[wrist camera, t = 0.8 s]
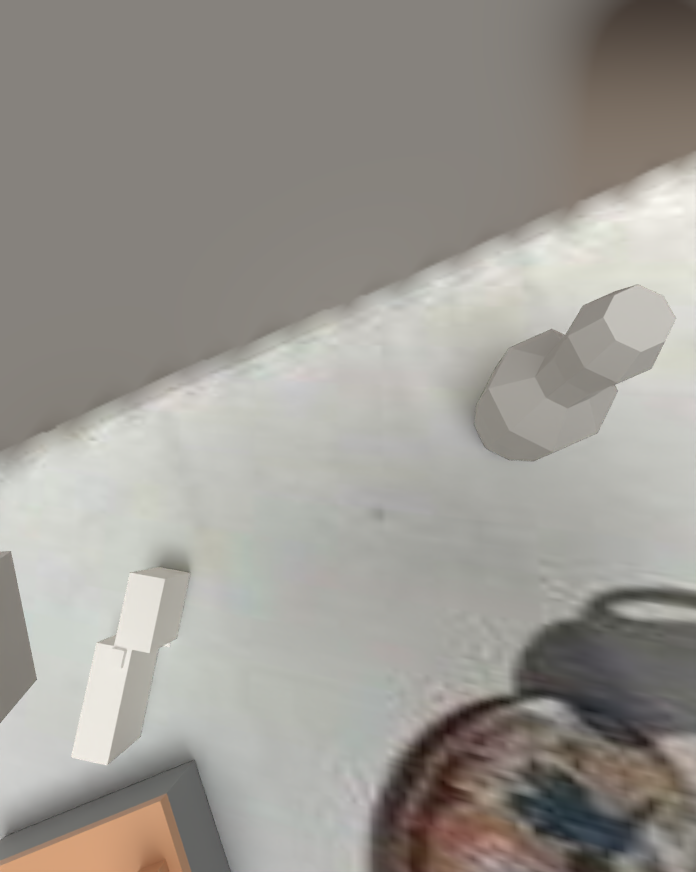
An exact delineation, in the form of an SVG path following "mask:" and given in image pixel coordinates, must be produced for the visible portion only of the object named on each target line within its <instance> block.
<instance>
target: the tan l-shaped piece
mask: <svg viewBox="0 0 696 872" xmlns="http://www.w3.org/2000/svg"><path fill="white" fill-rule="evenodd" d="M0 872H191V869H190V866H189V862H188V859H187V856H186V853H185V850H184V846H183V843H182V840H181V837H180V834H179V831H178V827H177V824H176V821H175V818H174V815H173V812H172V808H171V805H170V802H169V799H168V796H167V793H166V794H163V795H161V796H158V797H156V798H153V799H151V800H149V801H146V802H144V803H141V804H139V805H136V806H134V807H131V808H129V809H126V810H124V811H121V812H119V813H116V814H114V815H111V816H109V817H107V818H104V819H102V820H99V821H97V822H94V823H92V824H89V825H87V826H84V827H82V828H79V829H77V830H74V831H72V832H70V833H67V834H65V835H62V836H60V837H57V838H55V839H52V840H50V841H47V842H45V843H42V844H40V845H37V846H35V847H32V848H30V849H28V850H25V851H23V852H20V853H18V854H15V855H13V856H10V857H8V858H5V859H3V860H0Z"/></svg>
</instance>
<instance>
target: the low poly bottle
mask: <svg viewBox="0 0 696 872" xmlns="http://www.w3.org/2000/svg"><path fill="white" fill-rule="evenodd" d="M675 320H676V317H675V315H674V314H673V312H672V310H671V308H670V307H669V305H668V303H667V301H666V300H665V298H664V296H663V295H661V294H659V293H656V292H654V291H652V290H650V289H647V288H645V287H643V286H641V285H635V286H631V287H628V288H625V289H621V290H618V291H615V292H612V293H610V294H608V295H606V296H603V297H601V298H599V299H597V300H594V301H592V302H590V303H588V304H585V305H583V306H582V308H581V310H580V311H579V313H578V315H577V316H576V318H575V320H574V321H573V323H572V325H571V326H570V328H569V330H568V331H567V333H566V335H564V334H562V333H560V332H557V331H555V330H553V329H550V330H548V331H546V332H544V333H541V334H539V335H537V336H535V337H532V338H530V339H528V340H526V341H523V342H521V343H519V344H517V345H514V346H512V347H510V348H509V349H508V350H507V352H506V353H505V355H504V356H503V358H502V359H501V360H500V362H499V363H498V365H497V366H496V368H495V370H494V371H493V373H492V375H491V377H490V379H489V381H488V383H487V385H486V387H485V389H484V391H483V393H482V395H481V397H480V399H479V401H478V403H477V405H476V414H475V422H474V426H475V428H476V430H477V432H478V434H479V436H480V438H481V440H482V442H483V444H484V446H485V448H486V449H488V450H490V451H492V452H494V453H496V454H498V455H500V456H502V457H504V458H506V459H508V460H519V461H536V460H538V459H540V458H543V457H545V456H547V455H549V454H552V453H554V452H556V451H558V450H561V449H563V448H565V447H567V446H570V445H572V444H574V443H576V442H579V441H581V440H583V439H585V438H588V437H590V436H592V435H594V434H597V433H598V431H599V429H600V427H601V425H602V423H603V421H604V419H605V417H606V415H607V413H608V411H609V409H610V407H611V404H612V402H613V400H614V398H615V396H616V394H617V392H618V390H617V388H616V387H615V384H618V383H620V382H623V381H625V380H627V379H629V378H632V377H634V376H636V375H638V374H641V373H643V372H645V371H647V370H650V369H651V368H652V366H653V365H654V363H655V361H656V359H657V357H658V355H659V353H660V351H661V349H662V347H663V345H664V343H665V341H666V338H667V336H668V334H669V332H670V330H671V328H672V326H673V324H674V322H675Z"/></svg>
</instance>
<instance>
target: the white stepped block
mask: <svg viewBox="0 0 696 872" xmlns="http://www.w3.org/2000/svg"><path fill="white" fill-rule="evenodd" d="M189 578H190V573H189V572H183V571H178V570H173V569H167V568H162V567H157V568H151V569H146V570H141V571H135V572H130V574H129V579H128V584H127V588H126V593H125V597H124V602H123V606H122V611H121V616H120V620H119V625H118V629H117V634H116V635H114V636H112V637H109V638H107V639H104V640H102V641H99V642H97V643H96V648H95V652H94V657H93V661H92V665H91V670H90V674H89V679H88V683H87V688H86V692H85V697H84V701H83V706H82V710H81V715H80V719H79V724H78V728H77V733H76V737H75V742H74V746H73V751H72V755H71V758H76V759H80V760H85V761H90V762H94V763H99V764H103V765H108V764H109V763H111V762H112V761H113V760H114V759H115V758H116V757H118V756H119V755H120V754H121V753H122V752H123V751H125V750H126V749H127V748H128V747H129V746H130V745H132V744H133V743H134V742H135V741H136V740H137V739H139V738H140V737H141V732H142V727H143V722H144V717H145V713H146V708H147V703H148V698H149V693H150V689H151V684H152V679H153V674H154V669H155V665H156V660H157V655H158V650H159V648H160V647H162V646H166V647H170V644H171V641H173V640H175V639H177V636H178V631H179V627H180V622H181V617H182V612H183V607H184V602H185V597H186V592H187V588H188V583H189Z"/></svg>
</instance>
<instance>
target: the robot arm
mask: <svg viewBox="0 0 696 872" xmlns="http://www.w3.org/2000/svg"><path fill="white" fill-rule="evenodd" d="M36 680H37V677H36V673H35V668H34V663H33V658H32V653H31V648H30V643H29V638H28V633H27V628H26V623H25V618H24V613H23V608H22V604H21V599H20V594H19V589H18V584H17V579H16V574H15V569H14V564H13V559H12V554H11V551H5V552H0V723H1V722H2V720H3V719H4V718H5V717H6V716H7V714H8V713H9V712H10V711H11V710H12V708H13V707H14V706H15V705H16V704H17V703H18V701H19V700H20V699H21V698H22V697H23V695H24V694H25V693H26V692H27V691H28V689H29V688H30V687H31V686H32V685H33V683H34V682H35V681H36Z"/></svg>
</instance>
